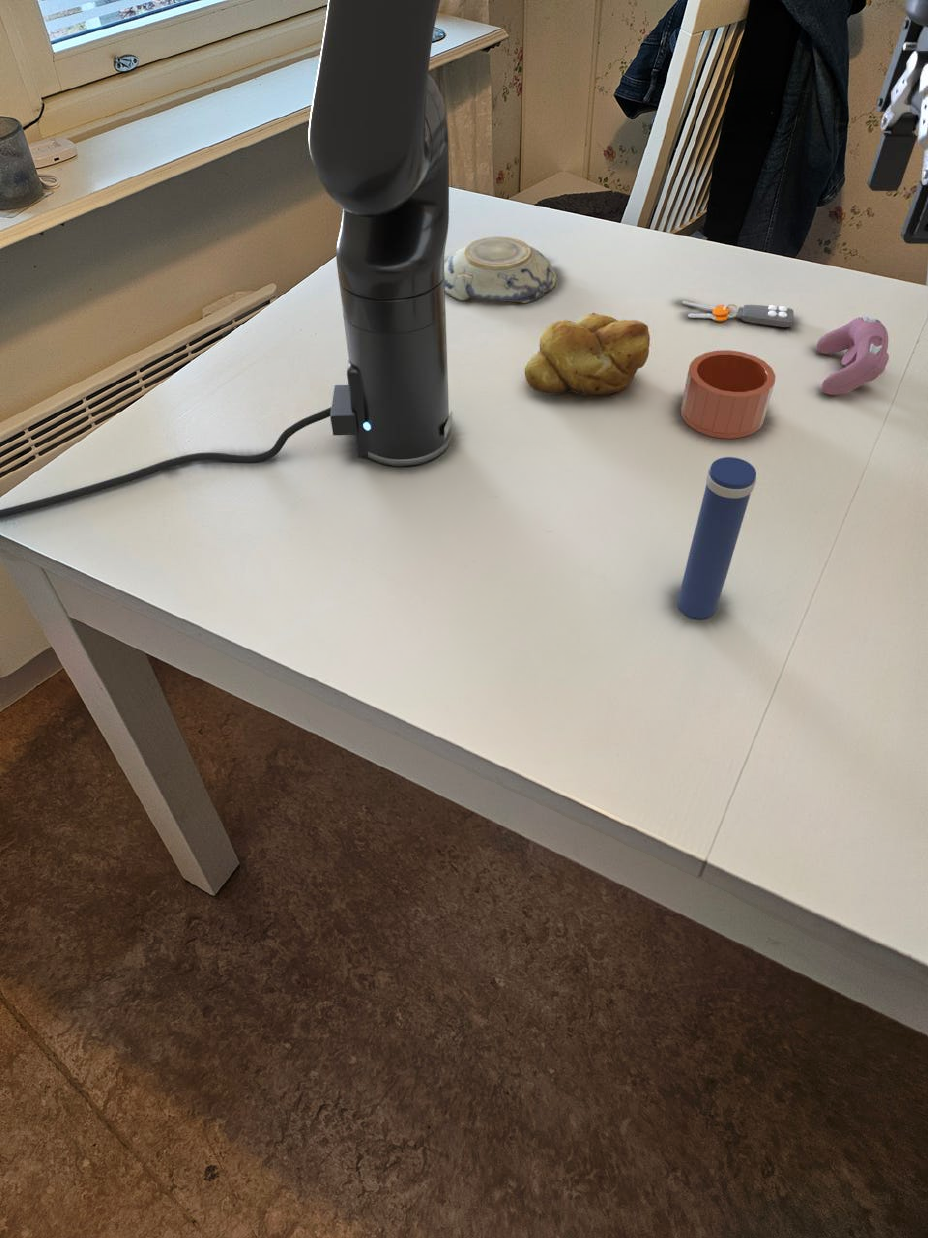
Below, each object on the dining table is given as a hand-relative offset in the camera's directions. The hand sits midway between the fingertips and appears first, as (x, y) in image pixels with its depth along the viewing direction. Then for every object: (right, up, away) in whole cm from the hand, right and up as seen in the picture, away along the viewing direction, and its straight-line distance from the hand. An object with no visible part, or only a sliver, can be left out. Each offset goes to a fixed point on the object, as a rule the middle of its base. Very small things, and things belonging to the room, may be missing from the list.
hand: (898, 214), depth 61 cm
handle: (-11, -27, +11) cm, 32 cm away
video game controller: (+11, -2, +34) cm, 36 cm away
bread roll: (-18, -2, +34) cm, 39 cm away
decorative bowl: (-26, +15, +50) cm, 59 cm away
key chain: (+2, +8, +43) cm, 44 cm away
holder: (-4, -7, +29) cm, 31 cm away
